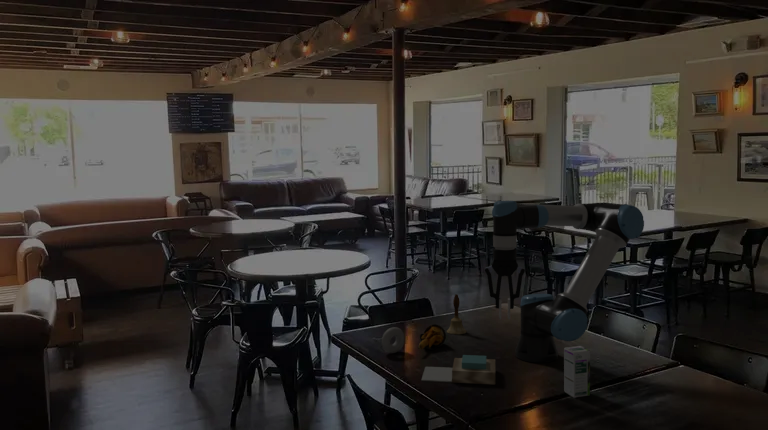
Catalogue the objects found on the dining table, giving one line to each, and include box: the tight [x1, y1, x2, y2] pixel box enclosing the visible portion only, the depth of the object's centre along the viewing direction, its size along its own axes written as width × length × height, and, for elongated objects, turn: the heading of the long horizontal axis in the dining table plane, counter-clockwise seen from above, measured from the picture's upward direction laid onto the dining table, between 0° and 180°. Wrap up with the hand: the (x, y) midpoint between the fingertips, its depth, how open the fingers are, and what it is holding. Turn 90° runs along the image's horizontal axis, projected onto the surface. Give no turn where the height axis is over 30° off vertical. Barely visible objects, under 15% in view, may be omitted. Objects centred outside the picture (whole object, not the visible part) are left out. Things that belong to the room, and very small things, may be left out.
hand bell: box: [446, 293, 467, 335], centre depth 265 cm, size 8×8×16 cm
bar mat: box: [421, 366, 453, 383], centre depth 216 cm, size 10×13×1 cm
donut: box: [381, 326, 405, 354], centre depth 239 cm, size 10×4×10 cm, turn 125°
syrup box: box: [563, 345, 591, 399], centre depth 196 cm, size 6×6×14 cm
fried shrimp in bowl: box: [417, 323, 447, 351], centre depth 243 cm, size 9×11×18 cm
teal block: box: [461, 354, 487, 369], centre depth 213 cm, size 8×8×2 cm
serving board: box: [451, 357, 496, 385], centre depth 213 cm, size 14×13×4 cm
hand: (504, 318), depth 210 cm, fingers open, 2 cm apart
